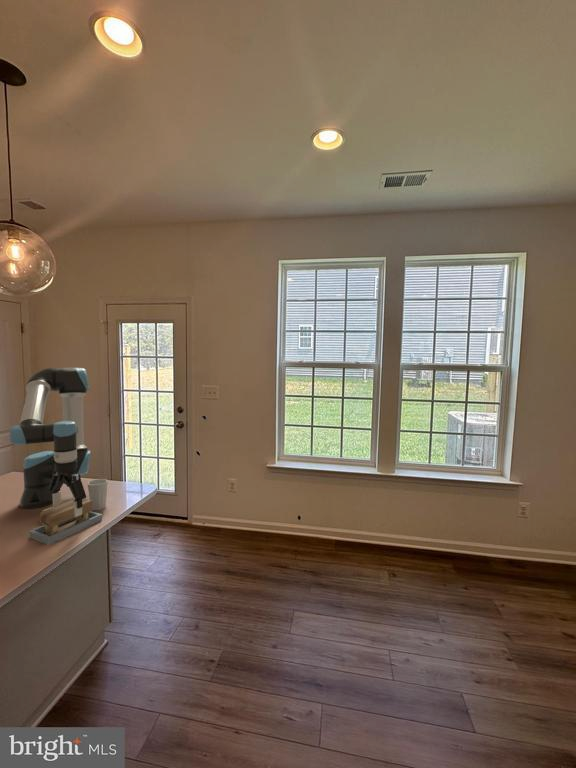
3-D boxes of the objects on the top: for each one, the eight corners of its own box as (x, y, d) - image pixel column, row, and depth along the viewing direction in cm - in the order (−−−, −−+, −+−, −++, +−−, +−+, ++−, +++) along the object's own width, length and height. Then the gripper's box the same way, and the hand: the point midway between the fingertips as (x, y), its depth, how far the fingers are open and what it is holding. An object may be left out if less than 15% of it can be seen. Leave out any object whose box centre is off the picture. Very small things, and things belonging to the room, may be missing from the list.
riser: (42, 519, 137) (42, 510, 137) (71, 508, 148) (71, 499, 148) (48, 521, 136) (48, 512, 136) (76, 509, 147) (76, 501, 146)
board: (40, 523, 124) (39, 513, 124) (81, 506, 139) (81, 497, 139) (51, 527, 121) (50, 516, 121) (92, 509, 136) (91, 500, 136)
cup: (93, 503, 153) (93, 478, 153) (111, 503, 154) (110, 478, 153) (84, 511, 145) (83, 485, 145) (103, 510, 146) (102, 484, 145)
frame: (29, 537, 123) (29, 524, 123) (83, 514, 143) (83, 503, 142) (48, 544, 118) (48, 531, 118) (102, 520, 138) (101, 508, 137)
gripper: (36, 458, 130) (38, 509, 132) (76, 468, 120) (78, 523, 122) (56, 453, 137) (58, 501, 139) (95, 462, 127) (96, 514, 129)
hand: (67, 511), depth 130 cm, fingers open, 13 cm apart
